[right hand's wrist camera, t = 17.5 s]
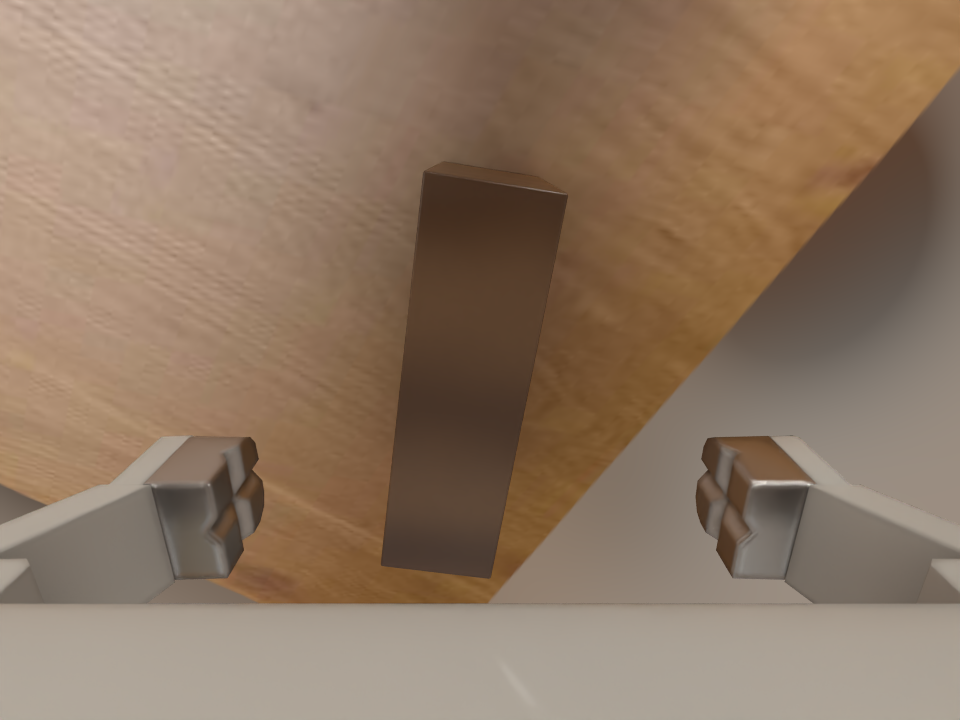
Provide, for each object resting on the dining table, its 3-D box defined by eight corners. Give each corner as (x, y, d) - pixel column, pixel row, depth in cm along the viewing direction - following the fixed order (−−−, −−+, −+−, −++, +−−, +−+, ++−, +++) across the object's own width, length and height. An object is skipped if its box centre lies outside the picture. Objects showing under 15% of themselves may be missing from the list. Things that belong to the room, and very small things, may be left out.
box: (441, 161, 33) (423, 170, 22) (539, 177, 33) (568, 193, 22) (407, 451, 40) (380, 566, 29) (487, 462, 40) (490, 579, 30)
